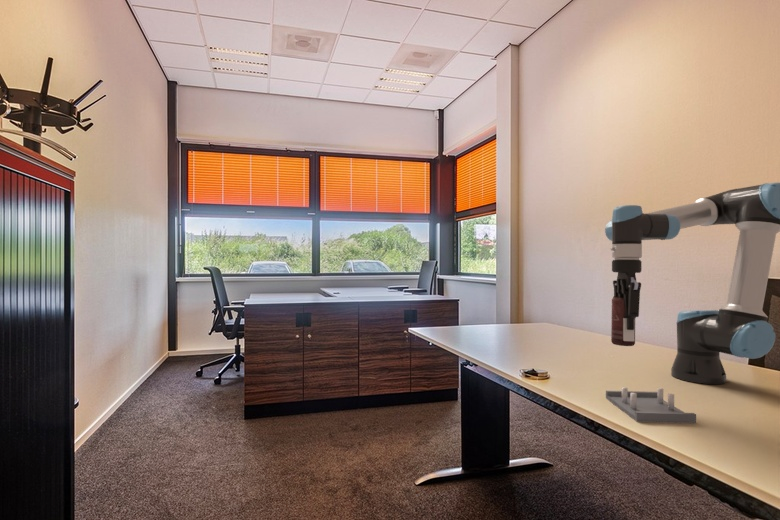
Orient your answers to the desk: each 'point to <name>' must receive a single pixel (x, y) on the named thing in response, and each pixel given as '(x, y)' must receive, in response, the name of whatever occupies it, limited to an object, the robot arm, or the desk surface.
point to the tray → (649, 406)
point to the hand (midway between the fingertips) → (625, 339)
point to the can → (619, 323)
